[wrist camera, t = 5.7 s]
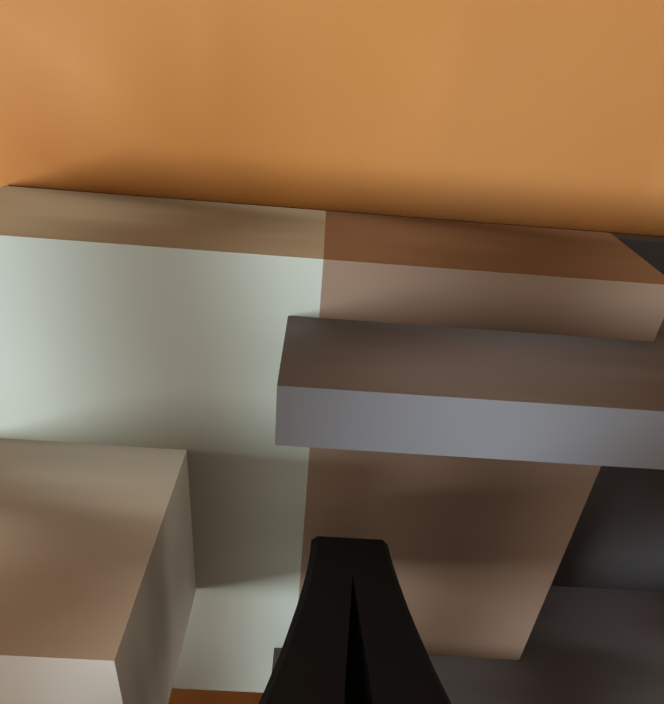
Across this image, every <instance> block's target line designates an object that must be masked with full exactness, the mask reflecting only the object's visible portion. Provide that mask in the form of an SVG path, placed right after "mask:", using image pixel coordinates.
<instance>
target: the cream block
mask: <svg viewBox="0 0 664 704" xmlns="http://www.w3.org/2000/svg"><path fill="white" fill-rule="evenodd" d="M195 592H196V578H195V563H194V549H193V534H192V520H191V505H190V491H189V476H188V462H187V450H179V449H163V448H147V447H131V446H116V445H100V444H84V443H68V442H53V441H37V440H21V439H5V438H0V704H168V703H169V698H170V694H171V690H172V686H173V682H174V678H175V674H176V670H177V666H178V662H179V657H180V653H181V649H182V645H183V641H184V637H185V633H186V629H187V625H188V620H189V616H190V612H191V608H192V604H193V600H194V596H195Z"/></svg>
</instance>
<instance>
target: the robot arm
mask: <svg viewBox="0 0 664 704" xmlns="http://www.w3.org/2000/svg"><path fill="white" fill-rule="evenodd" d="M259 704H451V702H450V700H449V698H448V696H447V694H446V692H445V690H444V688H443V686H442V684H441V682H440V679H439V677H438V675H437V673H436V671H435V669H434V667H433V665H432V662H431V660H430V658H429V656H428V653H427V651H426V649H425V646H424V644H423V642H422V640H421V637H420V635H419V633H418V631H417V628H416V626H415V623H414V621H413V619H412V616H411V614H410V611H409V608H408V606H407V603H406V601H405V598H404V595H403V593H402V590H401V587H400V584H399V581H398V578H397V575H396V572H395V569H394V566H393V563H392V559H391V556H390V552H389V548H388V544H387V543H386V542H384V541H383V540H379V539H361V538H343V537H325V536H317V537H315V538H314V539H312V540H311V548H310V556H309V561H308V566H307V571H306V575H305V579H304V583H303V587H302V590H301V594H300V597H299V600H298V604H297V607H296V610H295V613H294V616H293V618H292V621H291V624H290V627H289V630H288V633H287V636H286V638H285V641H284V644H283V647H282V649H281V652H280V654H279V657H278V659H277V662H276V664H275V667H274V669H273V671H272V674H271V676H270V678H269V681H268V683H267V686H266V688H265V690H264V693H263V695H262V698H261V700H260V702H259Z"/></svg>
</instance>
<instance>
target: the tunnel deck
mask: <svg viewBox="0 0 664 704" xmlns="http://www.w3.org/2000/svg"><path fill="white" fill-rule="evenodd" d="M0 438H5V439H21V440H37V441H53V442H68V443H84V444H100V445H116V446H131V447H147V448H163V449H179V450H187V462H188V476H189V491H190V505H191V520H192V534H193V549H194V563H195V578H196V592H195V596H194V600H193V604H192V608H191V612H190V616H189V620H188V625H187V629H186V633H185V637H184V641H183V645H182V649H181V653H180V657H179V662H178V666H177V670H176V674H175V678H174V682H173V686H172V688H175V689H196V690H217V691H238V692H259V693H264V690H265V688H266V686H267V683H268V681H269V678H270V676H271V674H272V671H273V669H274V667H275V664H276V662H277V659H278V657H279V654H280V652H281V649H282V647H283V644H284V641H285V638H286V636H287V633H288V630H289V627H290V624H291V621H292V618H293V616H294V613H295V610H296V607H297V604H298V600H299V597H300V594H301V590H302V587H303V583H304V579H305V575H306V571H307V566H308V561H309V556H310V548H311V540H312V539H314V538H315V537H317V536H325V537H343V538H361V539H379V540H383V541H384V542H386V543H387V544H388V548H389V552H390V556H391V559H392V563H393V566H394V569H395V572H396V575H397V578H398V581H399V584H400V587H401V590H402V593H403V595H404V598H405V601H406V603H407V606H408V608H409V611H410V614H411V616H412V619H413V621H414V623H415V626H416V628H417V631H418V633H419V635H420V637H421V640H422V642H423V644H424V646H425V649H426V651H427V653H428V656H429V658H430V660H431V662H432V665H433V667H434V669H435V671H436V673H437V675H438V677H439V679H440V682H441V684H442V686H443V688H444V690H445V692H446V694H447V696H448V698H449V700H450V702H451V704H664V237H659V236H646V235H633V234H620V233H607V232H594V231H581V230H568V229H556V228H543V227H530V226H517V225H504V224H491V223H478V222H465V221H452V220H440V219H427V218H414V217H401V216H388V215H375V214H362V213H349V212H336V211H324V210H311V209H298V208H285V207H272V206H259V205H246V204H233V203H220V202H208V201H195V200H182V199H169V198H156V197H143V196H130V195H117V194H104V193H92V192H79V191H66V190H53V189H40V188H27V187H14V186H3V187H1V188H0Z"/></svg>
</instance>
